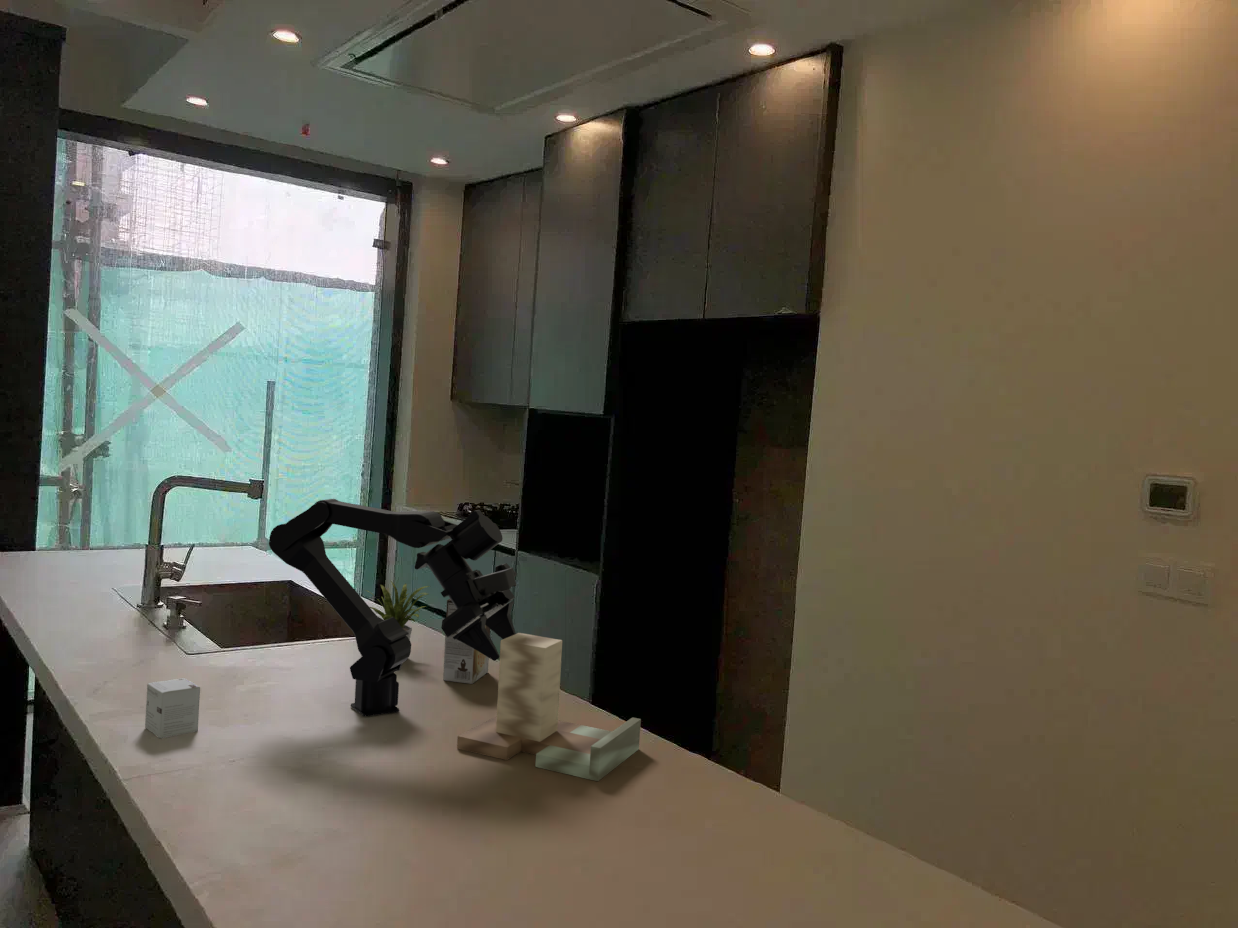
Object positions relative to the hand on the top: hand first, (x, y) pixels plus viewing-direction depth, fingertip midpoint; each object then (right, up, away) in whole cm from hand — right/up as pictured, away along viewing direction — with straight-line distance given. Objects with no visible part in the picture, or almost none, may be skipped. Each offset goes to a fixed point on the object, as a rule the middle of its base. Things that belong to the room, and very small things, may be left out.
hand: (507, 652), depth 163 cm
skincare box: (-52, -11, -9) cm, 54 cm away
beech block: (+4, -12, -5) cm, 13 cm away
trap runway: (+7, -14, -7) cm, 17 cm away
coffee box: (-12, -11, +31) cm, 34 cm away
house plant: (-27, -9, +41) cm, 50 cm away
